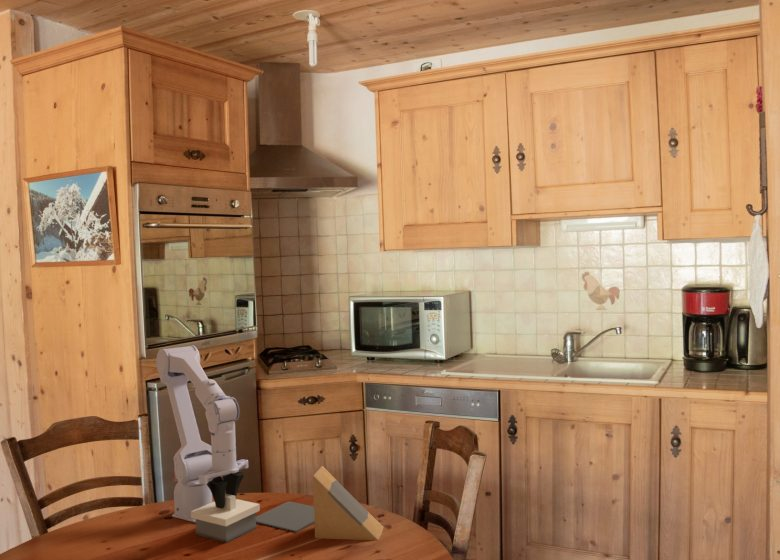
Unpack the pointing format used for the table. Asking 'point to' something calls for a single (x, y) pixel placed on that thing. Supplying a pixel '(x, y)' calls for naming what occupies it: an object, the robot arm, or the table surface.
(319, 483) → the sandwich container
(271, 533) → the table surface
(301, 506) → the mat
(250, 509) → the lid
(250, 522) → the storage box
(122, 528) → the table surface
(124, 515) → the table surface
